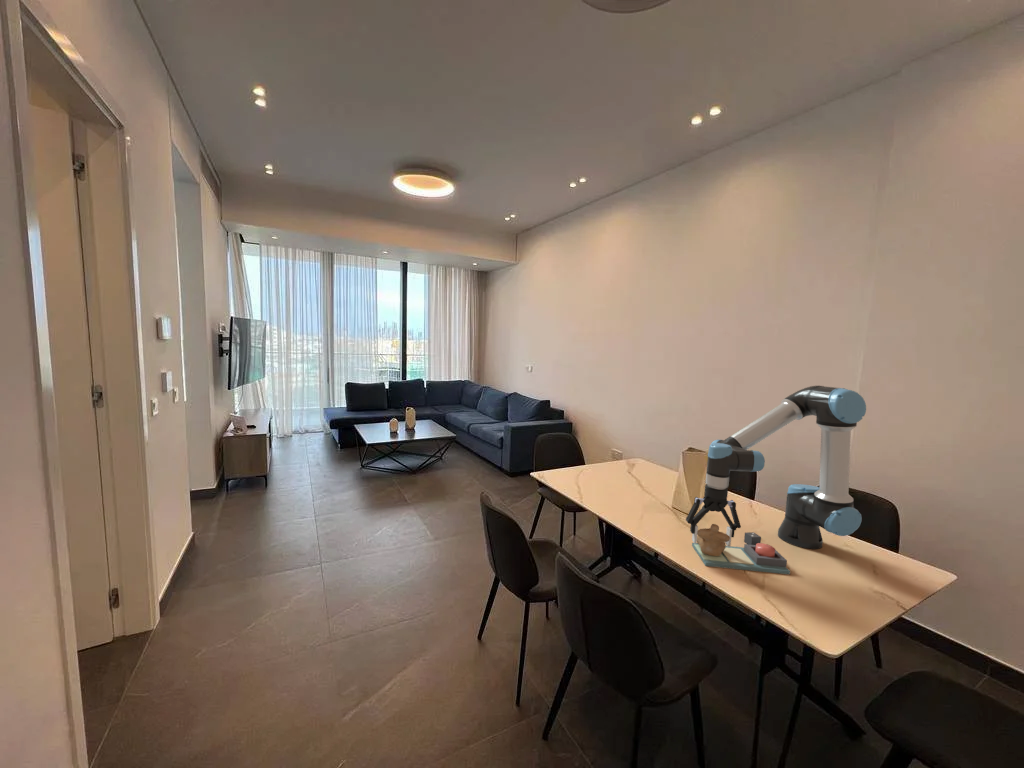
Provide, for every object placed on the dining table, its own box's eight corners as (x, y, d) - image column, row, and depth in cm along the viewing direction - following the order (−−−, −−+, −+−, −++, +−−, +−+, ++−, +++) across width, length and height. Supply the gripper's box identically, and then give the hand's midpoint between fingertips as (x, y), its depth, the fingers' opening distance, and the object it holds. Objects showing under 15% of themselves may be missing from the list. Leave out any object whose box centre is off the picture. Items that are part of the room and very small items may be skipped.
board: (768, 552, 157) (769, 543, 157) (789, 574, 142) (791, 564, 142) (691, 545, 160) (692, 536, 160) (705, 565, 145) (706, 555, 145)
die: (752, 541, 166) (753, 531, 166) (760, 546, 162) (761, 536, 162) (743, 542, 165) (744, 532, 165) (751, 546, 161) (752, 536, 161)
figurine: (725, 548, 156) (731, 516, 150) (725, 566, 148) (732, 534, 142) (694, 540, 160) (699, 509, 154) (693, 557, 152) (698, 525, 146)
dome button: (768, 554, 153) (770, 544, 152) (777, 562, 147) (778, 552, 146) (751, 552, 153) (753, 542, 153) (759, 560, 147) (760, 550, 147)
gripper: (746, 485, 152) (740, 541, 154) (680, 479, 155) (675, 535, 157) (755, 492, 145) (749, 551, 147) (686, 486, 147) (680, 544, 149)
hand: (710, 543), depth 152 cm, fingers closed on figurine, 11 cm apart
